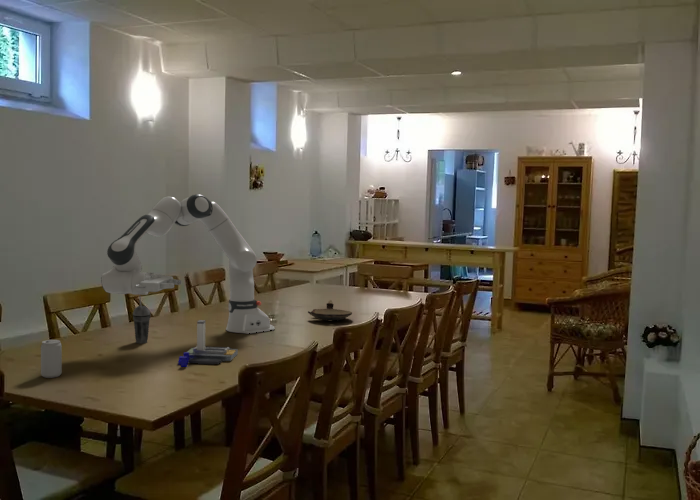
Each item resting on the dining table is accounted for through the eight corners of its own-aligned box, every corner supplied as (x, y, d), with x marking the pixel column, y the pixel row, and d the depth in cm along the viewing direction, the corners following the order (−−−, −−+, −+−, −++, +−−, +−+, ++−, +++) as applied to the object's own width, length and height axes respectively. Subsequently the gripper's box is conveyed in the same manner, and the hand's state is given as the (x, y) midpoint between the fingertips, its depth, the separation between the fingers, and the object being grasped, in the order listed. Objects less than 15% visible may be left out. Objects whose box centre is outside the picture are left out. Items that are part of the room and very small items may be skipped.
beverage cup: (154, 341, 276) (154, 294, 275) (143, 344, 270) (143, 297, 268) (139, 339, 279) (139, 293, 277) (128, 343, 272) (128, 295, 270)
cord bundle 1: (201, 351, 262) (201, 347, 262) (203, 349, 265) (203, 345, 265) (230, 352, 262) (230, 348, 261) (232, 350, 265) (232, 347, 264)
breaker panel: (183, 359, 248) (183, 350, 247) (192, 352, 260) (192, 343, 259) (230, 361, 247) (230, 352, 247) (237, 354, 259) (237, 345, 259)
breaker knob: (196, 351, 252) (197, 321, 251) (199, 349, 255) (199, 320, 254) (203, 351, 252) (203, 321, 251) (205, 350, 255) (205, 320, 254)
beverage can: (45, 373, 225) (44, 339, 224) (64, 373, 225) (64, 339, 224) (38, 378, 218) (37, 343, 217) (57, 378, 219) (57, 343, 218)
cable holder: (179, 362, 244) (179, 352, 244) (189, 362, 245) (189, 352, 244) (176, 368, 236) (176, 357, 236) (186, 368, 237) (186, 357, 237)
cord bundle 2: (188, 363, 242) (188, 360, 242) (190, 361, 245) (190, 358, 245) (219, 365, 242) (220, 361, 241) (221, 363, 245) (221, 359, 244)
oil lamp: (300, 322, 326) (301, 307, 326) (322, 313, 355) (322, 299, 354) (342, 326, 319) (343, 311, 319) (361, 316, 348) (361, 302, 347)
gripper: (133, 278, 247) (169, 279, 246) (151, 272, 267) (185, 273, 266) (133, 295, 247) (169, 296, 247) (151, 287, 267) (185, 288, 267)
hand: (177, 284), depth 257 cm, fingers open, 8 cm apart
